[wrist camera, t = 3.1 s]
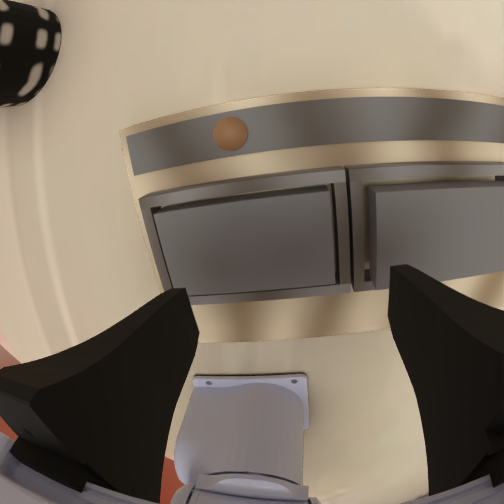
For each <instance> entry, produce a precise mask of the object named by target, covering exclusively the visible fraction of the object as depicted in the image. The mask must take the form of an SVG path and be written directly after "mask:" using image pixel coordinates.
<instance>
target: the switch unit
mask: <svg viewBox="0 0 504 504" xmlns="http://www.w3.org/2000/svg"><path fill="white" fill-rule="evenodd" d="M119 133H120V138H121V143H122V148H123V153H124V158H125V163H126V168H127V172H128V177H129V181H130V185H131V190H132V194H133V198H134V202H135V206H136V210H137V214H138V218H139V222H140V225H141V229H142V233H143V236H144V240H145V243H146V247H147V250H148V254H149V257H150V261H151V264H152V267H153V270H154V274H155V277H156V280H157V283H158V286H159V289H160V293H163V292H165V291H167V290H169V289H172V288H173V284H172V281H171V278H170V274H169V271H168V267H167V264H166V260H165V257H164V253H163V250H162V246H161V242H160V238H159V235H158V231H157V227H156V223H155V219H154V215H153V214H154V213H156V212H157V211H158V210H160V209H161V208H163V207H165V206H170V205H176V204H183V203H189V202H195V201H202V200H208V199H215V198H222V197H229V196H236V195H244V194H251V193H259V192H267V191H275V190H284V189H293V188H302V187H312V186H322V185H326V186H327V188H328V190H329V191H330V203H331V215H332V228H333V244H334V263H335V284H330V285H320V286H309V287H299V288H288V289H276V290H264V291H252V292H238V293H224V294H209V295H193V296H188V297H189V301H190V304H191V307H192V310H193V313H194V316H195V320H196V323H197V326H198V329H199V332H200V334H199V339H198V343H218V342H248V341H268V340H284V339H297V338H309V337H320V336H331V335H340V334H349V333H357V332H365V331H373V330H380V329H387V328H391V327H390V324H389V320H388V316H387V314H388V300H389V289H383V290H376V289H375V287H374V285H373V283H372V281H371V278H370V225H369V199H368V186H377V185H392V184H408V183H428V182H453V181H504V98H499V97H493V96H486V95H479V94H472V93H464V92H454V91H444V90H430V89H411V88H353V89H333V90H318V91H307V92H297V93H288V94H280V95H272V96H265V97H258V98H252V99H245V100H239V101H234V102H228V103H223V104H218V105H213V106H208V107H204V108H199V109H195V110H190V111H186V112H182V113H178V114H174V115H170V116H166V117H162V118H159V119H155V120H152V121H148V122H145V123H141V124H138V125H135V126H131V127H128V128H125V129H122V130H119ZM441 283H443V284H445V285H447V286H448V287H450V288H452V289H454V290H456V291H458V292H460V293H462V294H464V295H466V296H468V297H470V298H472V299H475V300H477V301H479V302H482V303H484V304H487V305H489V306H492V307H494V308H497V307H501V306H504V271H500V272H495V273H489V274H484V275H478V276H472V277H466V278H460V279H454V280H447V281H441Z"/></svg>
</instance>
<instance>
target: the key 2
mask: <svg viewBox="0 0 504 504" xmlns="http://www.w3.org/2000/svg"><path fill="white" fill-rule="evenodd" d="M153 215H154V219H155V223H156V227H157V231H158V235H159V238H160V242H161V246H162V250H163V253H164V257H165V260H166V264H167V267H168V271H169V274H170V278H171V281H172V284H173V288H186V291H187V294H188V296H193V295H209V294H224V293H238V292H252V291H264V290H276V289H288V288H299V287H309V286H320V285H330V284H335V263H334V244H333V228H332V215H331V203H330V191H329V190H328V188H327V186H326V185H322V186H312V187H302V188H293V189H284V190H275V191H267V192H259V193H251V194H244V195H236V196H229V197H222V198H215V199H208V200H202V201H195V202H189V203H183V204H176V205H170V206H165V207H163V208H161V209H160V210H158V211H157V212H156V213H154V214H153Z"/></svg>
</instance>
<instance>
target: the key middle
mask: <svg viewBox="0 0 504 504" xmlns="http://www.w3.org/2000/svg"><path fill="white" fill-rule="evenodd" d="M368 199H369V225H370V278H371V281H372V283H373V285H374V287H375V289H376V290H383V289H389V282H390V266H395V265H403V264H408V265H410V266H412V267H414V268H416V269H418V270H420V271H422V272H424V273H425V274H427V275H429V276H431V277H432V278H434V279H436V280H438V281H439V282H441V281H447V280H454V279H460V278H466V277H472V276H478V275H484V274H489V273H495V272H500V271H504V181H453V182H428V183H408V184H392V185H377V186H368Z"/></svg>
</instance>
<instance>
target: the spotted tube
mask: <svg viewBox="0 0 504 504" xmlns="http://www.w3.org/2000/svg"><path fill="white" fill-rule="evenodd" d="M60 41H61V29H60V23H59V20H58V18H57V16H56V15H55V14H54V13H53V12H51V11H50V10H47V9H43V8H39V7H35V6H31V5H27V4H23V3H18V2H14V1H9V0H0V107H8V106H17V105H22V104H24V103H26V102H28V101H29V100H31V99H32V98H33V97H34V96H35V95H36V94H37V93H38V92H39V91H40V90H41V88H42V87H43V85H44V84H45V83H46V81H47V79H48V77H49V75H50V74H51V72H52V69H53V67H54V65H55V62H56V59H57V55H58V52H59V47H60Z"/></svg>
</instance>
